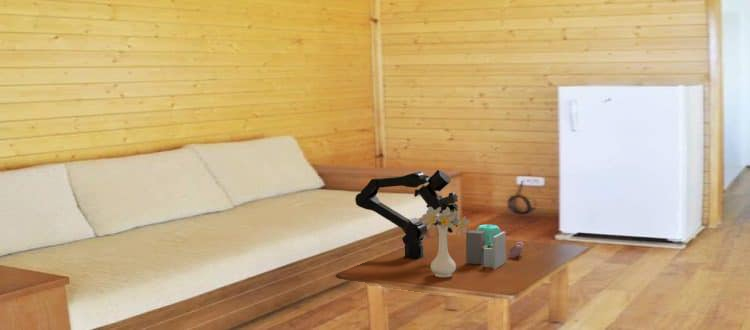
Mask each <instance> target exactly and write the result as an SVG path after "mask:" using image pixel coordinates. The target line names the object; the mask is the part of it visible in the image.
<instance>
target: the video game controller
mask: <svg viewBox="0 0 750 330" xmlns="http://www.w3.org/2000/svg"><path fill="white" fill-rule="evenodd" d="M523 246H525V245H524V242H522V241H517V242H516V243H515V245H514V246H512V247H511V248H510V249H509V250H508V251H509V253H508V259H515V258H518V257H519V256H520V254H521V253H522V254H523V253H524V250H523V248H524V247H523Z"/></svg>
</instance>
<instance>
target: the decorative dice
mask: <svg viewBox="0 0 750 330" xmlns="http://www.w3.org/2000/svg"><path fill="white" fill-rule="evenodd" d="M475 231H485V245H486V246H489V247H488V248H490V245H491V244H492V237H494V236H495V235H497V234H499V233H501V232H502V231H501V229H500V227H499V226H498V225H495V224H481V225H479V226H478V227H477V229H476V230H475Z"/></svg>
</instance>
